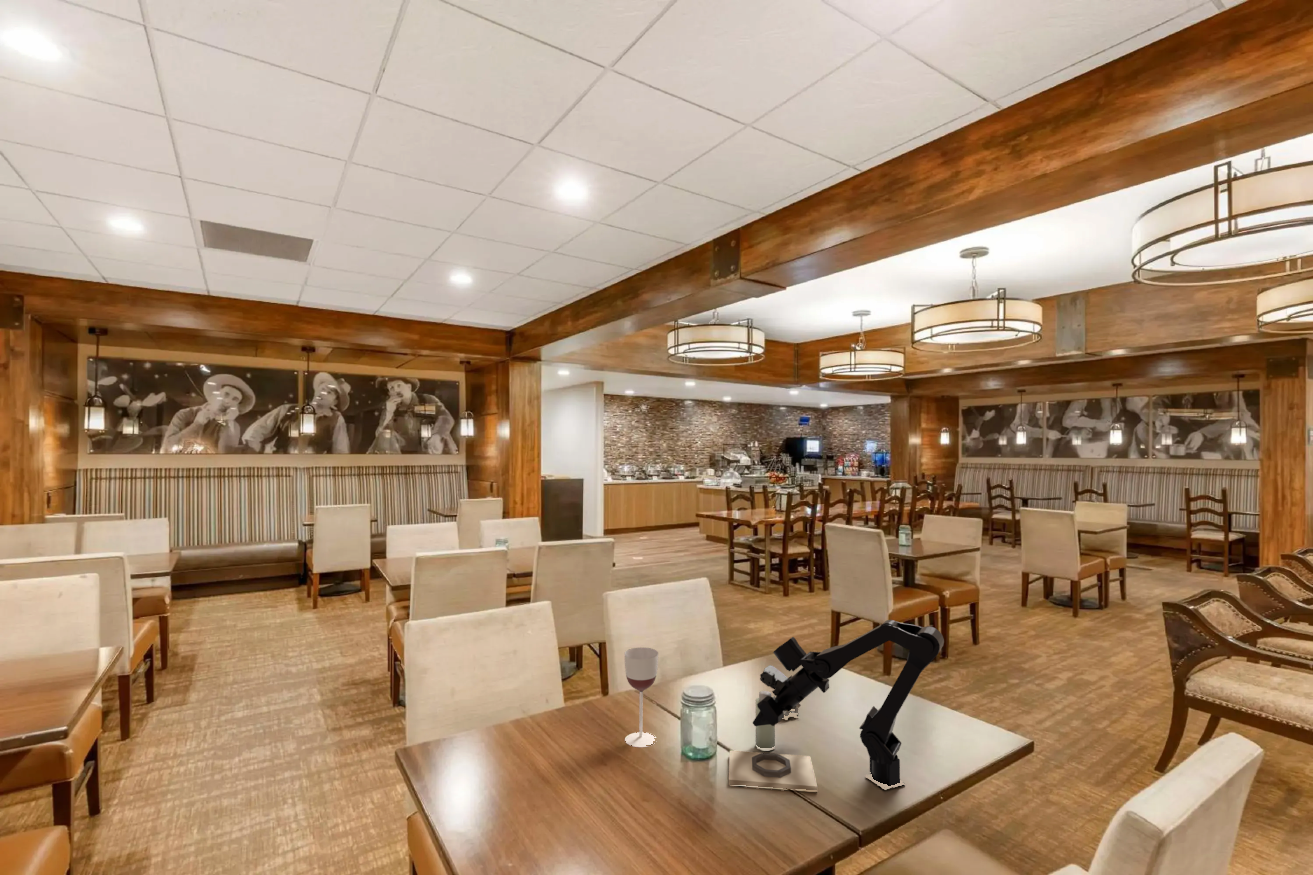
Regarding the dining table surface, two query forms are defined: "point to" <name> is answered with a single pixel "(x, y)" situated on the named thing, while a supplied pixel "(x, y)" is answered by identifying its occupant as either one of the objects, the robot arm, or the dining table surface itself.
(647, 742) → the wineglass
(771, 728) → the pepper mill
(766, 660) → the dining table surface
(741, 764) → the board
